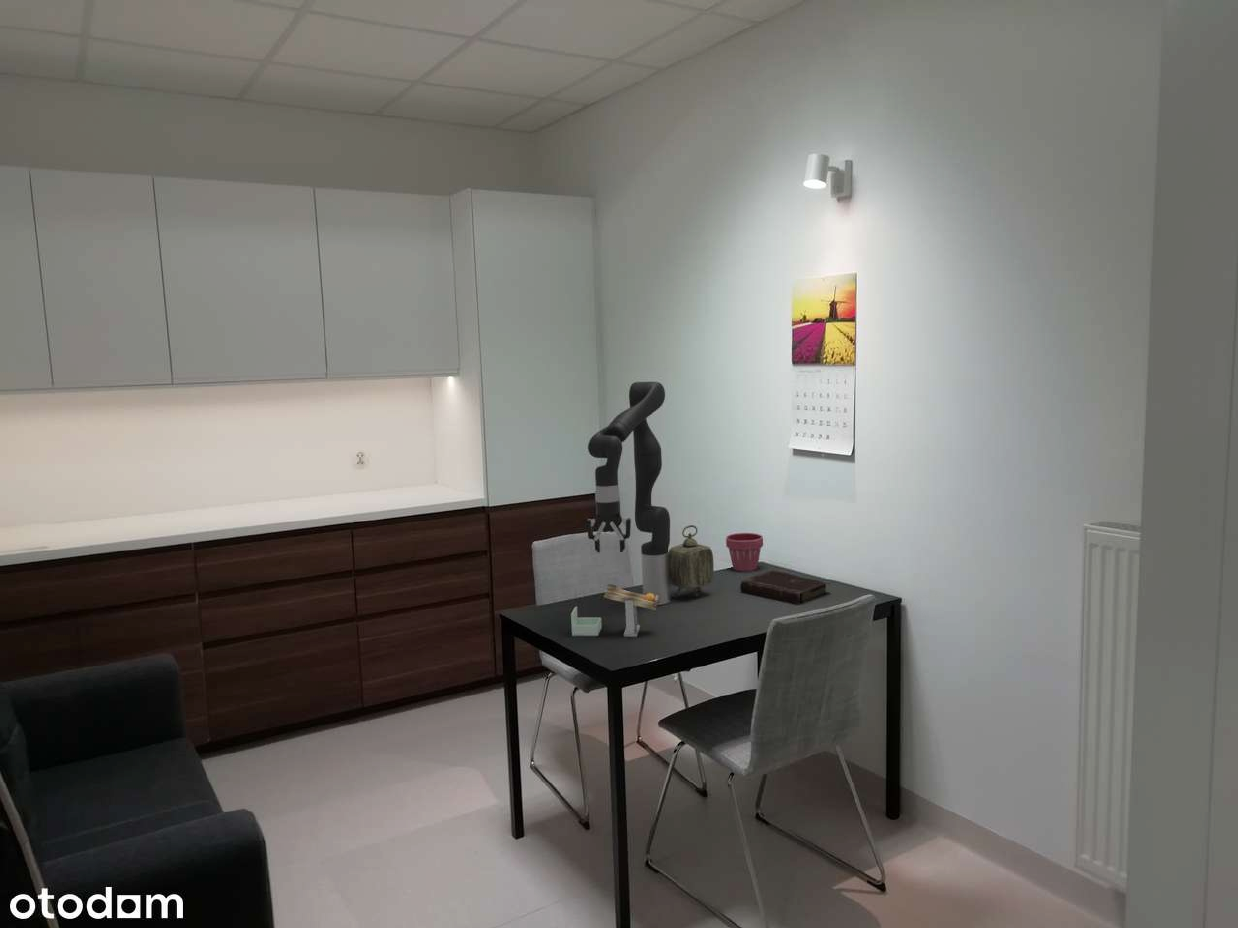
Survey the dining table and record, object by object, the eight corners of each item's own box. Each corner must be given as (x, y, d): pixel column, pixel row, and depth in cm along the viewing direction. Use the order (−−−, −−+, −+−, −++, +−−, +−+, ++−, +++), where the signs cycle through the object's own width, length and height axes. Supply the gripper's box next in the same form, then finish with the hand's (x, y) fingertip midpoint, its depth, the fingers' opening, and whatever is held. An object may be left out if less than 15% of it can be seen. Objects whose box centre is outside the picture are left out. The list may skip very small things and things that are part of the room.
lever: (602, 597, 271) (604, 587, 271) (607, 587, 283) (609, 577, 282) (654, 611, 270) (657, 600, 269) (657, 600, 281) (660, 590, 281)
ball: (644, 601, 274) (645, 591, 274) (654, 602, 274) (656, 592, 273) (643, 604, 271) (645, 594, 271) (653, 605, 271) (655, 595, 270)
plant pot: (749, 575, 337) (748, 541, 335) (719, 570, 346) (718, 537, 345) (770, 567, 347) (770, 535, 345) (741, 562, 357) (740, 531, 355)
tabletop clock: (699, 589, 319) (696, 520, 316) (716, 594, 312) (714, 524, 309) (668, 597, 311) (665, 527, 308) (685, 602, 304) (683, 530, 301)
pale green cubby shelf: (576, 628, 280) (575, 606, 280) (601, 627, 279) (600, 606, 279) (572, 636, 273) (570, 613, 272) (597, 636, 272) (596, 613, 271)
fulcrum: (623, 636, 270) (622, 601, 269) (627, 627, 279) (625, 593, 278) (636, 636, 270) (635, 601, 268) (639, 627, 279) (638, 592, 277)
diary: (798, 607, 295) (797, 592, 294) (740, 594, 314) (739, 580, 313) (831, 594, 307) (831, 580, 307) (773, 582, 326) (773, 569, 325)
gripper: (631, 496, 280) (634, 548, 282) (586, 497, 282) (589, 549, 284) (629, 500, 272) (631, 554, 275) (582, 502, 274) (585, 554, 276)
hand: (610, 551), depth 279 cm, fingers open, 6 cm apart
